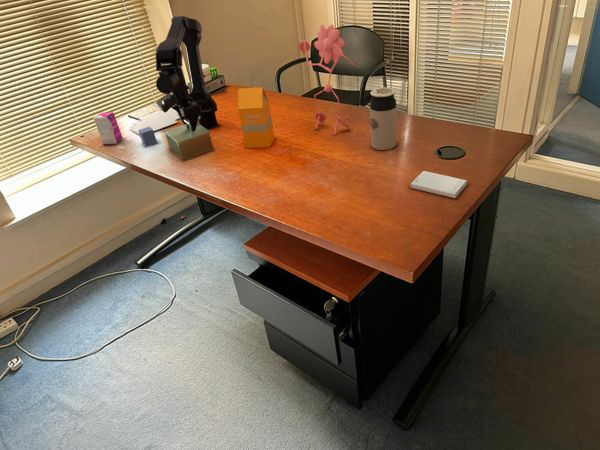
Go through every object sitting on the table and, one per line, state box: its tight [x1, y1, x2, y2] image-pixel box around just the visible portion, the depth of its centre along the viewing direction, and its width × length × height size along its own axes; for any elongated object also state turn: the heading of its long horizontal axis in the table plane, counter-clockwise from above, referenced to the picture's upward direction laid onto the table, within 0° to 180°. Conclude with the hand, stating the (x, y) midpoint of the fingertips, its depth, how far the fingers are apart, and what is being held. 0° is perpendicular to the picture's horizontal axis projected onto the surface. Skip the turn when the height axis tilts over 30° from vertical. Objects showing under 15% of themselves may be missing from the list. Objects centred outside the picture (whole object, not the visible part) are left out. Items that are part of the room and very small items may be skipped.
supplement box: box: [93, 111, 124, 146], centre depth 174 cm, size 6×6×12 cm
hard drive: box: [410, 170, 468, 199], centre depth 119 cm, size 2×8×12 cm
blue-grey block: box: [138, 127, 158, 148], centre depth 170 cm, size 5×5×6 cm
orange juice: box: [237, 86, 275, 149], centre depth 153 cm, size 8×9×20 cm
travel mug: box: [369, 86, 397, 151], centre depth 139 cm, size 8×8×18 cm
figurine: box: [298, 24, 359, 139], centre depth 153 cm, size 15×26×35 cm, turn 45°
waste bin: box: [164, 132, 214, 162], centre depth 160 cm, size 12×15×6 cm
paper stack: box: [128, 108, 180, 136], centre depth 191 cm, size 23×25×1 cm
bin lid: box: [164, 119, 211, 145], centre depth 157 cm, size 12×15×4 cm
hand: (189, 127), depth 157 cm, fingers open, 9 cm apart
